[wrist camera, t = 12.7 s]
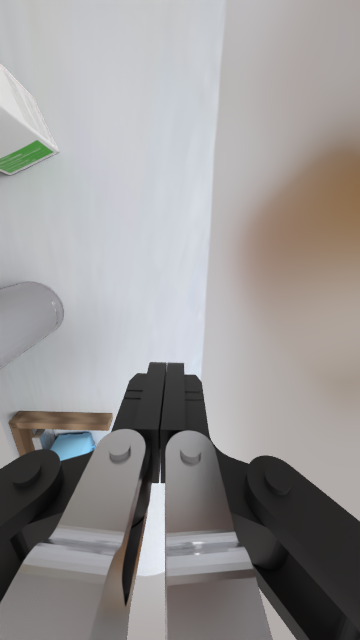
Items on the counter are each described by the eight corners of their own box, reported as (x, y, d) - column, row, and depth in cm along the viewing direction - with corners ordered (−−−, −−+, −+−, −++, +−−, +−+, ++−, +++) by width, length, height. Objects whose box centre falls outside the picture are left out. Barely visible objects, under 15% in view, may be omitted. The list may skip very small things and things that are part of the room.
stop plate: (54, 463, 50) (44, 482, 46) (44, 421, 46) (31, 438, 42) (61, 464, 50) (51, 482, 46) (50, 421, 46) (39, 438, 42)
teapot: (54, 452, 49) (33, 487, 42) (46, 432, 47) (22, 466, 40) (105, 449, 49) (92, 484, 42) (99, 429, 47) (85, 462, 40)
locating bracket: (37, 469, 51) (28, 482, 49) (19, 411, 45) (8, 422, 42) (118, 471, 51) (114, 484, 49) (112, 413, 45) (107, 424, 42)
